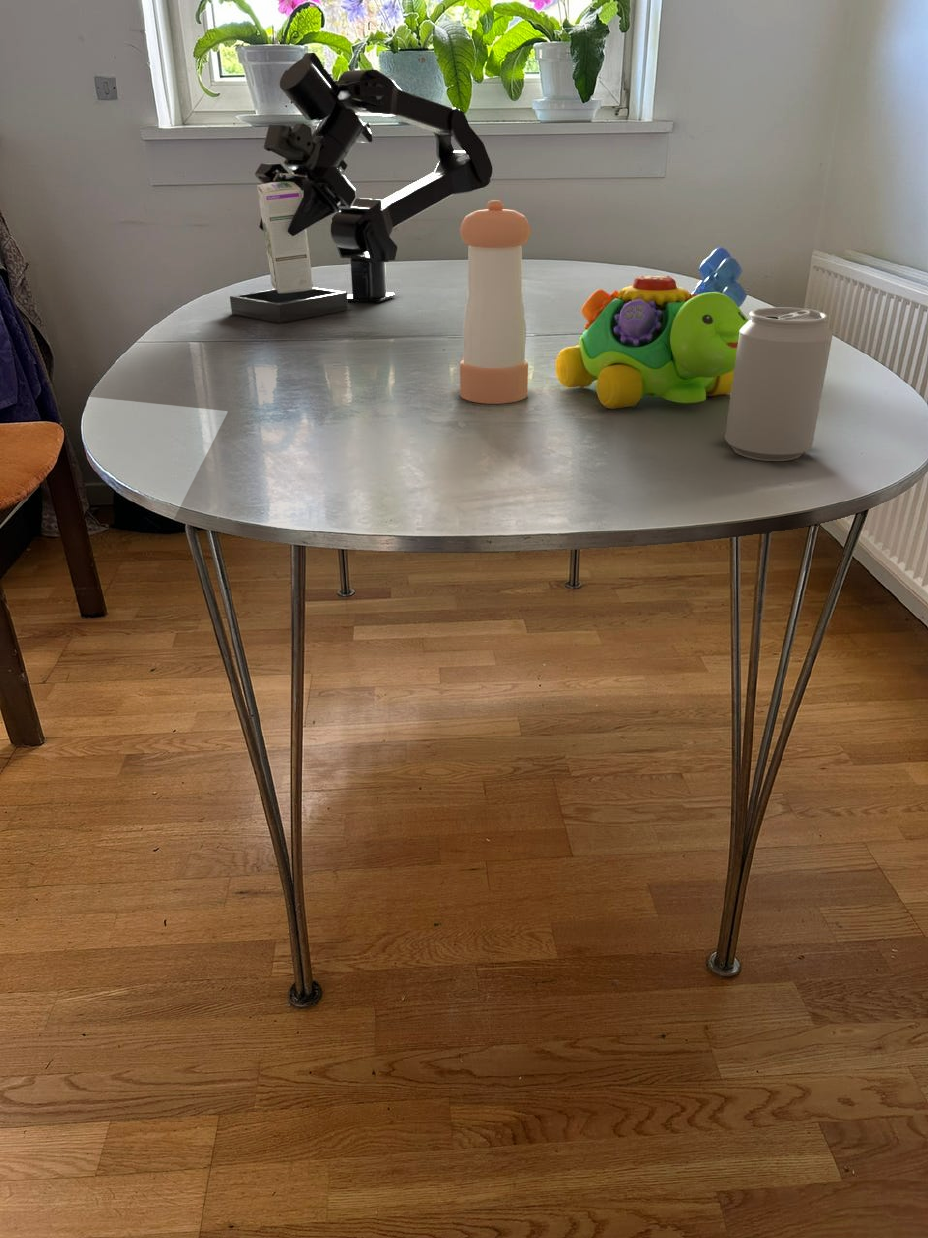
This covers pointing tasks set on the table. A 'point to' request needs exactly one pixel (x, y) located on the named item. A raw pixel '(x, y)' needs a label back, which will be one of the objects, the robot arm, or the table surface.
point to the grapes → (721, 276)
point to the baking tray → (288, 304)
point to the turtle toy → (654, 344)
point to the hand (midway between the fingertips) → (275, 231)
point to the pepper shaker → (494, 307)
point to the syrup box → (284, 238)
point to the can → (778, 383)
